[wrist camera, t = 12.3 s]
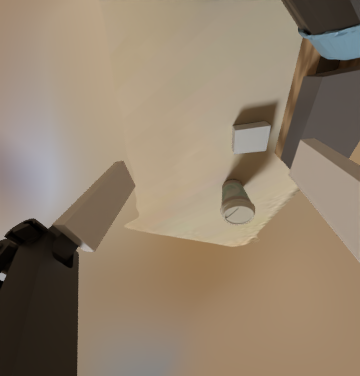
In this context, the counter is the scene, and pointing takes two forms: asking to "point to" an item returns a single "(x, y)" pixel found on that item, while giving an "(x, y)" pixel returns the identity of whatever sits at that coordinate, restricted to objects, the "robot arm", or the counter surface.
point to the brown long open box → (304, 67)
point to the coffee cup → (236, 204)
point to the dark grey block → (326, 112)
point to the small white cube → (250, 137)
